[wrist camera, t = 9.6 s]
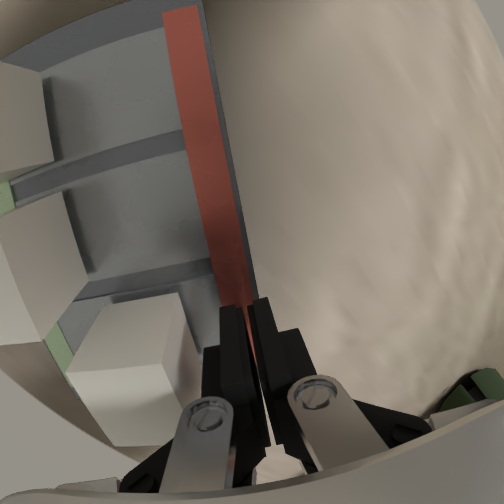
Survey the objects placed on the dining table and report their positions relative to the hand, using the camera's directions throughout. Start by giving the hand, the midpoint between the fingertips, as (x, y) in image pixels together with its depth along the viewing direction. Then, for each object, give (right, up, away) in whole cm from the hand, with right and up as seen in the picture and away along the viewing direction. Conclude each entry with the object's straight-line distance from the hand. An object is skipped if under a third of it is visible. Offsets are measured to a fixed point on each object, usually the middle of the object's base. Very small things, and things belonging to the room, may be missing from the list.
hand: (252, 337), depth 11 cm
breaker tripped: (-4, 0, +1) cm, 4 cm away
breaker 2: (-8, +3, -1) cm, 8 cm away
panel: (-5, +4, +1) cm, 7 cm away
